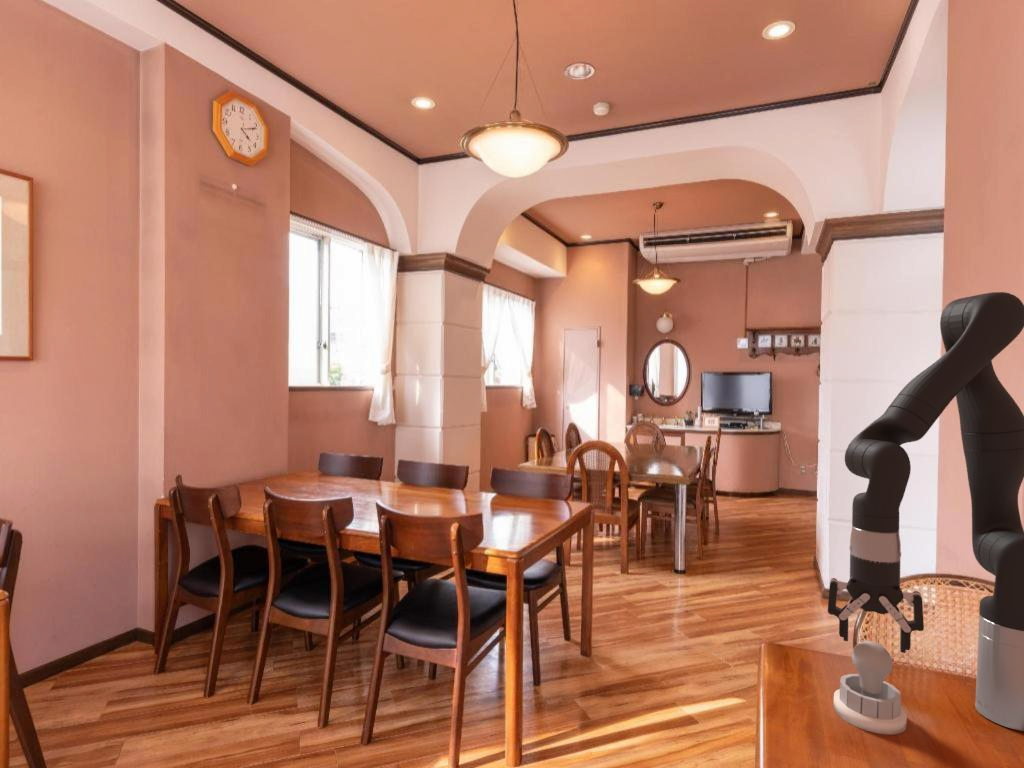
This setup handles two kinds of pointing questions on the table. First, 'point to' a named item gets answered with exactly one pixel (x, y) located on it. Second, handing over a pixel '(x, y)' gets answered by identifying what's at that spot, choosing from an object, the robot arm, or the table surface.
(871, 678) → the lightbulb
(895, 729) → the lamp base
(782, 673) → the table surface
